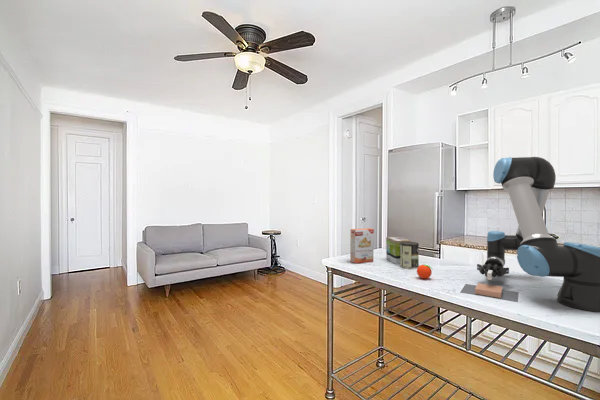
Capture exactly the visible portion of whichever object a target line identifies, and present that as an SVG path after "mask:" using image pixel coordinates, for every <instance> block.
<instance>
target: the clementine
mask: <svg viewBox="0 0 600 400" xmlns="http://www.w3.org/2000/svg"><path fill="white" fill-rule="evenodd" d="M416 274H417V275H418V277H419V278H421V279H424V280H427V279H429V278H430V277H431V276H432V267H431V266H430V265H429V264H420V265H419V267H418V268H417V269H416Z"/></svg>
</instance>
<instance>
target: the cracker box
mask: <svg viewBox="0 0 600 400" xmlns="http://www.w3.org/2000/svg"><path fill="white" fill-rule="evenodd" d="M374 238H375V229H374V228H371V227H370V228H367V227H366V228H365V227H364V228H351V229H350V243H349V244H350V246H349V247H350V248H349V249H350V251H349V252H350V255H349V256H350V258H349V259H350V263H353V264H364V262H365V263H373V262H374V252H375V251H374V247H375V245H374V244H375V243H374V242H375V241H374V240H375V239H374Z"/></svg>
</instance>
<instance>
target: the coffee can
mask: <svg viewBox="0 0 600 400" xmlns="http://www.w3.org/2000/svg"><path fill="white" fill-rule="evenodd" d="M419 252H420V251H419V243H418V242H417V241H416V242H415V241H411V242H400V264H399V267H400V268H402V269H405V270H406V269H407V270H417V268H418V267H419V266H420V265H419V262H420V261H419V260H420V258H419Z"/></svg>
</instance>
